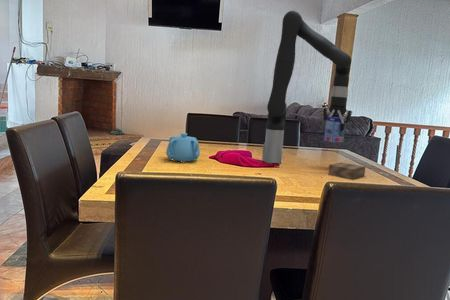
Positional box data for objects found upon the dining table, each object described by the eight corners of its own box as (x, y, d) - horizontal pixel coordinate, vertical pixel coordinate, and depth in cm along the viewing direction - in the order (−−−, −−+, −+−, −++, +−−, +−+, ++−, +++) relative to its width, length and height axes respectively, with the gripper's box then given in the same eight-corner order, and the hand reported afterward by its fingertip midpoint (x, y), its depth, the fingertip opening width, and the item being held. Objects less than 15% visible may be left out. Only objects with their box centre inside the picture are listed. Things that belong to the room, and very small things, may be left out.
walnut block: (328, 175, 179) (329, 164, 179) (340, 172, 188) (341, 162, 187) (352, 180, 171) (354, 169, 171) (364, 177, 180) (365, 166, 180)
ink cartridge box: (332, 142, 187) (336, 112, 185) (323, 141, 191) (326, 111, 189) (344, 142, 193) (347, 113, 191) (334, 140, 197) (338, 112, 195)
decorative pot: (198, 164, 184) (199, 136, 182) (164, 162, 183) (165, 134, 181) (199, 158, 200) (201, 132, 198) (168, 156, 199) (169, 130, 197)
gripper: (322, 94, 190) (318, 128, 192) (351, 97, 181) (347, 132, 184) (328, 95, 196) (324, 128, 198) (356, 97, 188) (352, 131, 190)
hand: (335, 130), depth 191 cm, fingers closed on ink cartridge box, 6 cm apart
